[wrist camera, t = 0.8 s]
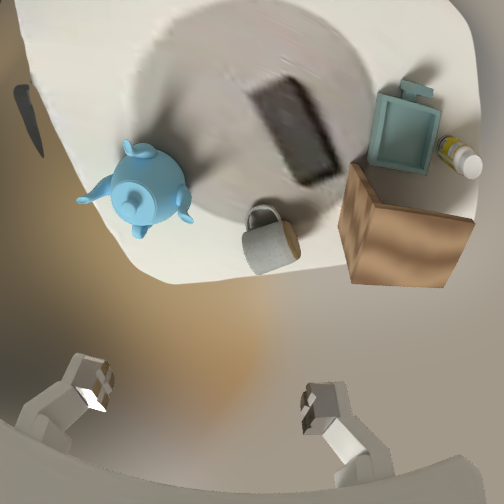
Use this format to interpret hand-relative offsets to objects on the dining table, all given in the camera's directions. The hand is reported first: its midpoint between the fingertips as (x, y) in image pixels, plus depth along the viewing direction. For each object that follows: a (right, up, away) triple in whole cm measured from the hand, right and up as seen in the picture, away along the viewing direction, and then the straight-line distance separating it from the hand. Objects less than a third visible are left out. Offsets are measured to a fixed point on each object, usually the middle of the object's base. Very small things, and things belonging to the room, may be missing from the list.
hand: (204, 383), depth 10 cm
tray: (+25, +25, +25) cm, 43 cm away
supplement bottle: (+34, +23, +26) cm, 48 cm away
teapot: (-15, +19, +35) cm, 42 cm away
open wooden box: (+25, +14, +34) cm, 44 cm away
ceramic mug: (+5, +9, +40) cm, 42 cm away
